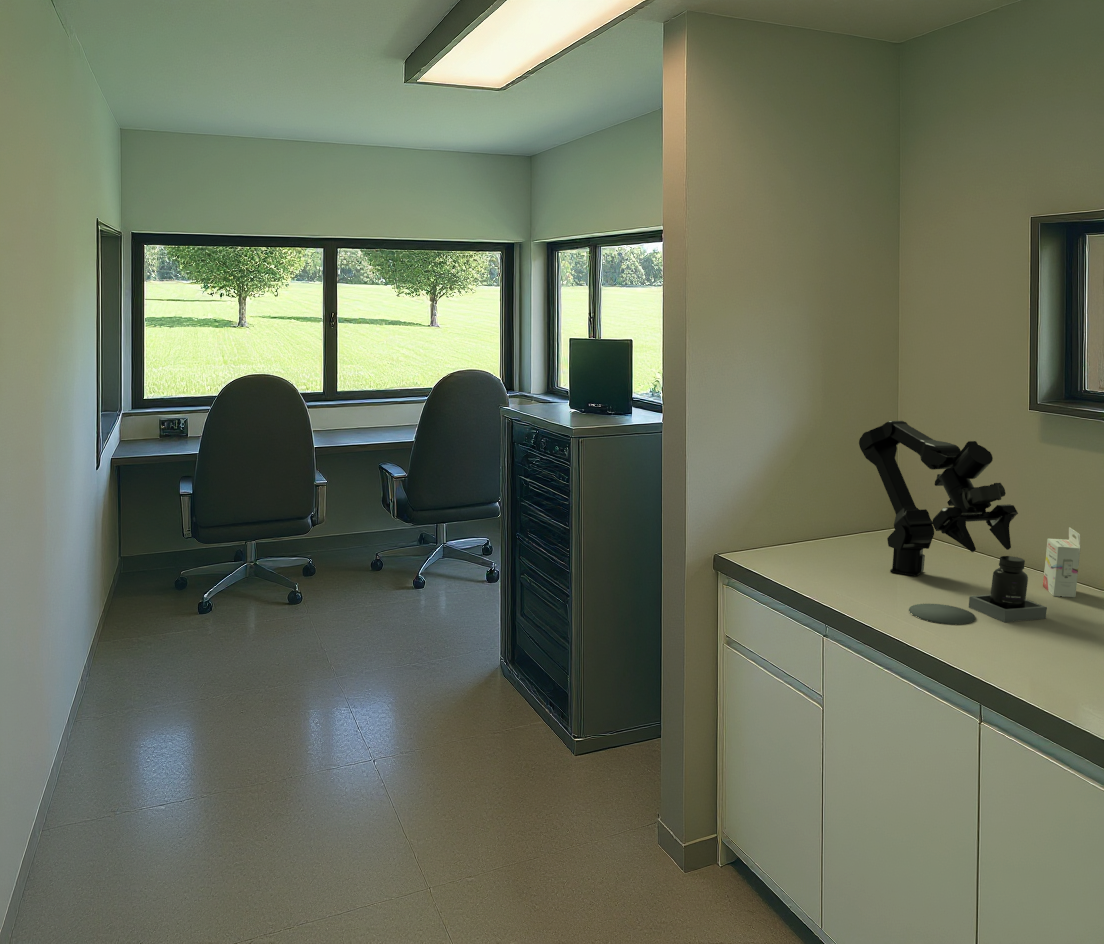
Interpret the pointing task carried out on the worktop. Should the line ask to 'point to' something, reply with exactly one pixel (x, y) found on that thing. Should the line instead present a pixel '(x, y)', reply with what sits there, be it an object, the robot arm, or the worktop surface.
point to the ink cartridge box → (1062, 565)
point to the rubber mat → (942, 613)
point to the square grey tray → (1007, 610)
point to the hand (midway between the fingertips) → (991, 549)
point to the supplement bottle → (1009, 583)
